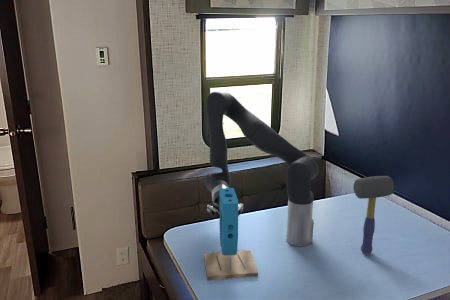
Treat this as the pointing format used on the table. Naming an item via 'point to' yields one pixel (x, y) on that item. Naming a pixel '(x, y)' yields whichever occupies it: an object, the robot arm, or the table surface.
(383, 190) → the rubber mallet
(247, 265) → the oak board
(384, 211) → the table surface
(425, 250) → the table surface
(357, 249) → the table surface
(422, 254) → the table surface
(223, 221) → the block
